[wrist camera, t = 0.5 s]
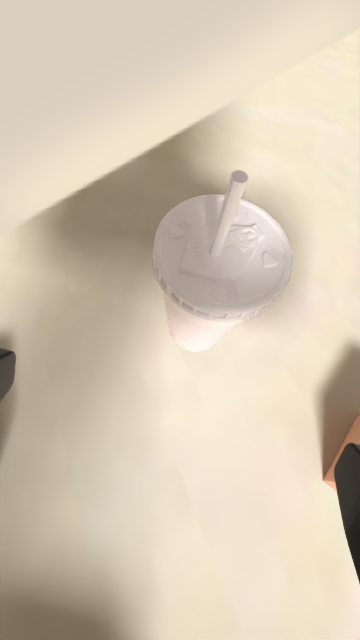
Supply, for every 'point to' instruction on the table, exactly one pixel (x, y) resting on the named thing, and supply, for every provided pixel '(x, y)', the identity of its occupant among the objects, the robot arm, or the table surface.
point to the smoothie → (218, 264)
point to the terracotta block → (355, 435)
